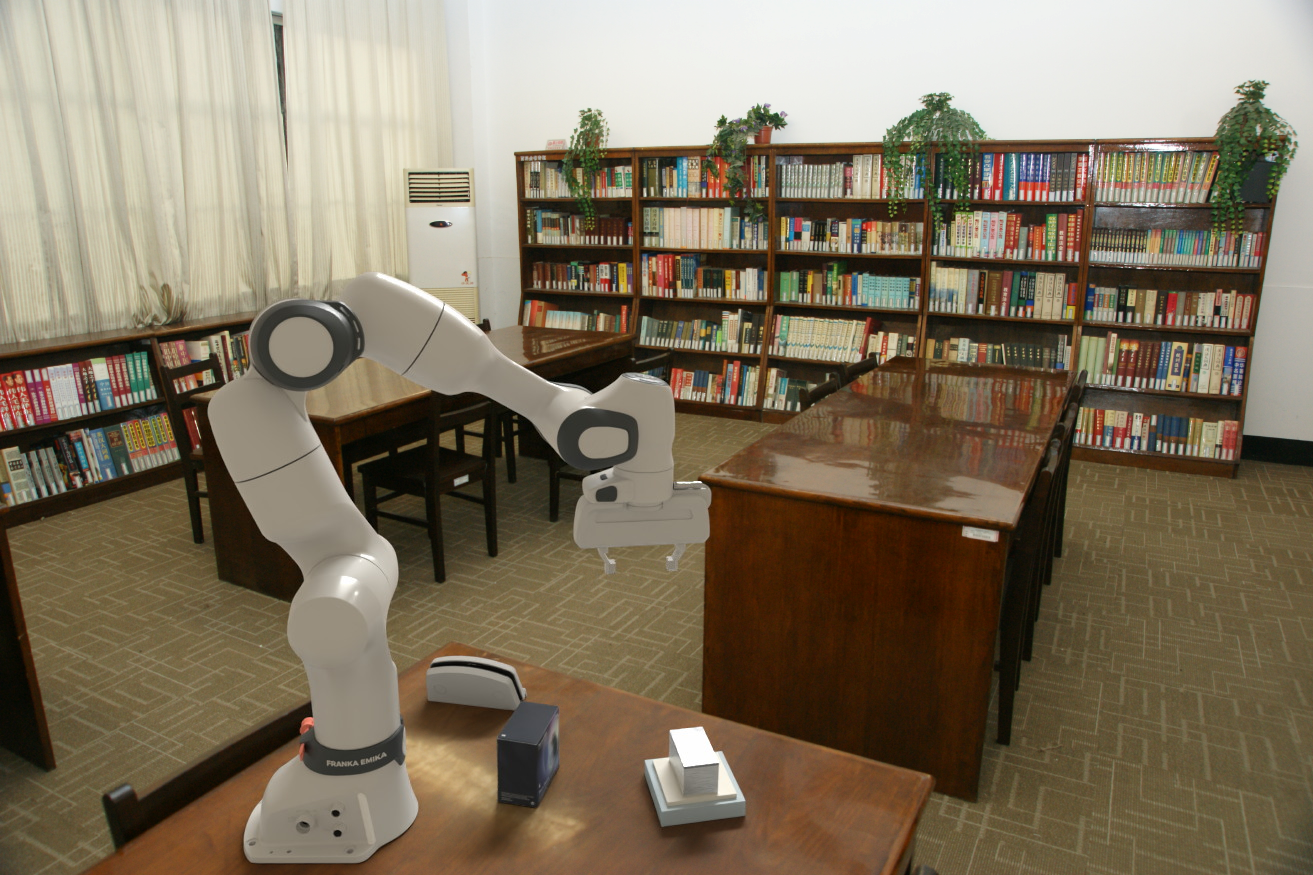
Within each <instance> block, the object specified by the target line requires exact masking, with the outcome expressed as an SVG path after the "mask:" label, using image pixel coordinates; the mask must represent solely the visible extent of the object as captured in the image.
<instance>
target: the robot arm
mask: <svg viewBox="0 0 1313 875" xmlns="http://www.w3.org/2000/svg"><path fill="white" fill-rule="evenodd" d="M247 336H248V337H247V345H248V346H247V347H248V357H247V358H248V359H247V367H246V370H247V371H246V372H245V373H244V374H243V375H241V376H239V377H237V378H235V379H233V380H230V381H229V382H228V383H226V384H224V385H222V386H221V387H220V388H219V389H218V390H217V391H216V392H214V394H213V395H212V397H211V399H210V401H209V402H208V407H207V417H208V420H209V425H210V426H211V431H212V434H213V437H214V439H215V443H216V445H217V448H218V450H219V453H220V455H221V458H222V460H223V462H224V465H225V467H226V469H227V471H228V473H229V475H230V477H231V479H232V482H234V485H235V487H236V488H237V491H238V492H239V494H240V496H241V498H242V500H243V502H244V504H245V506H246V507H247V509H248V511H249V512H250V514H251V516H252V518H253V520H254V521H255V523H256V525H257V527H258V529H259V531H260V532H261V534H262V536H264V537H265V539H267V540H268V541H270V542H272V543H276V544H277V545H278V546H280V547H281V548H282V549H283V551H285V552H286V553H287V555H289V556H290V557H291V559H292V560H293V561H294V562H295V563H296V564H297V565H298V567H299V569H300V570H301V573H302V576H303V582H302V583H301V586H300V587H299V589H297V591H296V593H295V595H294V596H293V598H292V601H291V604H290V608H289V613H288V619H287V627H286V636H287V640H288V644H289V645H290V648H291V649H292V651H293V652H294V654H295V655H296V656H297V657H298V658H300V660H301V662H302V664H303V666H304V671H305V673H306V677H307V679H308V685H309V691H310V700H311V710H312V717H311V716H310V717H309V716H308V717H305V718H304V719H303V720H302V722H301V726H300V728H299V734H301V736H300V738H299V742H298V743H299V744H298V746H299V751H298V754H297V755H296V756H295V757H293V758H292V759H290V760H289V761H287V763H286V762H285V764H284V765H282V766H281V767H279V768H278V769H277V770H276V771H275V772H274V774H273V775H272V777H271V778H270V780H269V782H268V783H267V785H266V788H265V790H264V793H263V797H262V799H261V800H260V801H259V802H258V803H257V804H256V806H255V807H254V808H253V810H252V812H251V813H250V816H249V818H248V820H247V822H246V825H245V829H244V833H243V852H244V855H245V857H246V859H247V860H248V861H249V862H250V863H253V864H359V863H362V862H365V861H367V860H368V859H369V858H370V857H371V856H372V855H373V854H374V853H376V851H377V850H378V849H380V848H381V847H382V846H384V845H386V844H388V843H389V842H391V841H393V840H395V839H397V838H398V837H400V836H401V835H402V834H403V833H405V832H406V831H407V830H408V828H409V827H410V826H411V825H412V824H413V823H414V822H415V820H416V818H417V815H418V812H419V802H418V800H417V799H418V798H417V797H416V795H415V792H414V790H413V788H412V784H411V782H410V776H409V774H408V770H407V765H406V755H407V736H406V735H407V734H406V726H405V724H404V722H405V721H404V718H403V717H404V716H403V715H402V714H401V712H400V711H401V709H400V698H399V693H400V692H399V684H398V683H399V681H398V680H399V678H398V669H397V666H396V663H395V662H394V661H393V660H392V656H391V652H390V648H389V643H388V636H387V620H388V614H389V613H388V612H389V608H390V606H391V605H390V604H391V602H392V599H393V596H394V594H395V591H396V589H397V586H398V581H399V563H398V558H397V554H396V551H395V549H394V547H393V545H392V544H391V543H390V542H389V540H387V539H386V538H385V537H383V536H382V535H380V534H379V533H377V531H376V530H375V529H374V528H373V527H372V525H371V524H370V523H369V522H368V520H367V519H366V517H365V516H364V515H363V514H362V513H361V511H360V510H359V509H358V507H357V506H356V505H355V503H354V502H353V501H352V499H351V497H350V496H349V494H348V492H347V491H346V489H345V487H344V485H343V483H342V481H341V479H340V477H339V475H338V473H337V471H336V469H335V467H334V465H333V463H332V461H331V459H330V457H329V455H328V453H327V451H326V450H325V447H324V446H323V444H322V442H321V440H320V437H319V436H318V434H317V432H316V430H315V428H314V426H313V423H312V421H311V420H310V417H309V414H308V411H307V406H306V401H307V400H306V398H307V397H308V396H307V395H308V392H310V391H311V392H312V391H315V390H318V389H321V388H323V387H325V386H327V385H329V384H330V383H331V382H333V381H334V380H335V379H337V378H338V377H339V376H341V375H342V374H343V372H344V371H345V370H346V369H347V368H348V367H349V366H350V365H352V364H353V363H354V362H356V360H358V359H359V358H364V359H368V360H371V361H373V362H375V363H378V364H380V365H382V366H383V367H385V368H387V369H389V370H390V371H392V372H394V373H396V374H397V375H399V376H401V377H403V378H405V379H407V380H408V381H411V382H413V383H414V384H416V385H419V386H421V387H422V388H426V389H428V390H431V391H434V392H437V393H439V394H443V395H445V396H453V395H454V396H455V395H459V394H462V393H465V392H470V393H478V394H481V395H483V396H485V397H487V398H490V399H491V400H494V401H496V402H497V403H499V404H500V405H502V406H505V407H507V408H508V409H510V410H512V411H513V412H516V413H518V414H519V415H521V416H523V417H525V418H526V419H527V420H528V421H530V422H531V424H532V425H533V427H534V428H535V429H536V431H537V432H538V433H539V435H540V437H541V438H542V439H543V440H544V441H545V442H546V443H547V444H549V445H550V446H551V448H553V449H554V451H555V452H556V453H557V454H558V455H559V457H560V458H561V459H562V460H563V461H564V462H565V463H567V464H568V465H569V466H571V467H573V468H574V469H577V470H580V471H596V470H601V469H605V468H607V469H605V470H603V471H600V472H596V473H594V474H590V475H587V476H586V477H584V478H583V479H582V487H581V488H582V493H583V494H582V495H581V496H580V497H579V499H578V501H577V503H576V507H575V512H574V520H573V540H574V543H575V544H576V546H578V547H579V548H580V549H596V550H597V552H598V555H599V556H600V558H601V559H602V561H603V562H604V567H603V569H604V574H605V575H614V574H615V575H616V574H617V571H616V568H617V566H616V565H617V562H615V561H616V560H615V559H614V558H608V556H607V554H609V548H614V547H615V548H616V547H617V548H618V547H620V548H621V547H641V546H662V545H663V546H664V545H674V550H673V552H672V554H671V555H668V556H666V557H665V569H667V570H666V571H667V572H671V571H672V572H673V571H678V570H679V560H680V559H681V557H682V556H683V555H684V553H685V552H686V549H687V548H686V547H687V544H703V543H706V541H707V540H708V539H709V538H710V531H711V530H710V526H711V525H710V516H709V515H710V514H709V509H708V508H709V507H710V506H711V503H712V490H711V488H710V487H709V485H707V484H705V483H703V482H702V481H697V480H696V481H674V472H675V471H674V467H675V462H674V461H675V460H674V457H673V453H672V452H673V451H672V447H673V443H674V440H675V437H676V433H675V432H676V416H675V415H676V413H675V412H676V410H675V398H674V394H673V393H674V392H673V389H672V388H671V386H670V384H668V383H667V382H666V381H664V380H663V379H661V378H659V377H657V376H654V375H653V376H652V375H650V374H646V373H645V374H644V373H639V372H625V373H622V374H621V375H620V376H619V377H618V378H617V379H616V380H615V381H613V382H612V383H611V384H609V385H608V386H606V387H604V388H603V389H600V390H599V391H597V392H595V393H593V392H592V391H590V390H588V389H587V388H585V387H583V386H581V385H578V384H572V383H564V382H554V381H550V380H549V379H546V378H544V377H542V376H540V375H539V374H537V373H535V372H533V371H531V370H530V369H528V368H526V367H524V366H522V365H521V364H519V363H517V361H516V362H515V360H512V359H510V358H509V357H507V356H506V355H504V354H503V353H502V352H501V351H500V350H499V349H498V348H497V347H496V346H495V345H494V344H493V342H492V341H491V340H490V338H489V337H488V335H487V334H486V333H485V332H484V331H483V330H482V329H481V328H480V327H479V326H478V325H476V324H475V323H474V322H473V321H472V320H471V319H469V318H468V317H467V316H465V314H463V313H461V312H460V311H459V310H458V309H456V308H454V307H453V306H452V305H450V304H448V303H446V302H445V301H443V300H441V299H439V298H438V297H436V296H434V295H433V294H431V293H429V292H427V291H425V290H423V289H421V288H420V287H417V286H415V285H413V284H410V283H409V282H407V281H404V280H403V279H400V278H397V277H395V276H391V275H389V274H386V273H383V272H381V271H365V272H363V273H361V274H359V275H356V276H355V277H354V278H352V279H351V280H350V281H349V282H348V283H347V284H346V285H345V287H344V288H343V289H342V290H341V293H340V294H339V295H338V297H337V298H335V299H334V300H323V299H322V300H321V299H319V300H318V299H309V298H305V297H299V296H298V297H295V296H293V297H291V296H290V297H284V298H280V299H278V300H274V301H272V302H271V303H268V304H267V305H266V306H264V307H263V308H262V309H261V310H260V311H258V312H257V314H256V315H255V317H254V319H253V320H252V322H251V324H250V327H249V331H248V335H247ZM610 467H611V468H610Z"/></svg>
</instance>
